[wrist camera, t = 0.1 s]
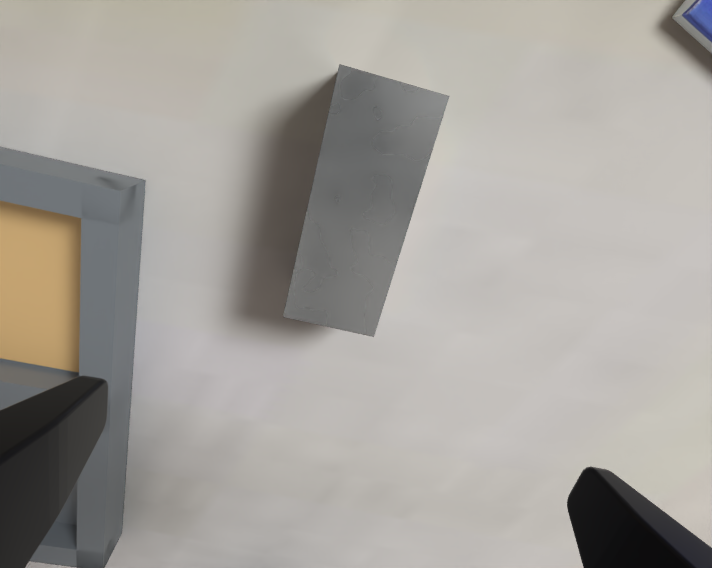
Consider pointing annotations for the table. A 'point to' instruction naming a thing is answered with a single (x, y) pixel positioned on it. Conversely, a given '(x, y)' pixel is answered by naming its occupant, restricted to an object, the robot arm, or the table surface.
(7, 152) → the grey divided tray
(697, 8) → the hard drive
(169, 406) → the table surface
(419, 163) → the block
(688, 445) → the table surface
